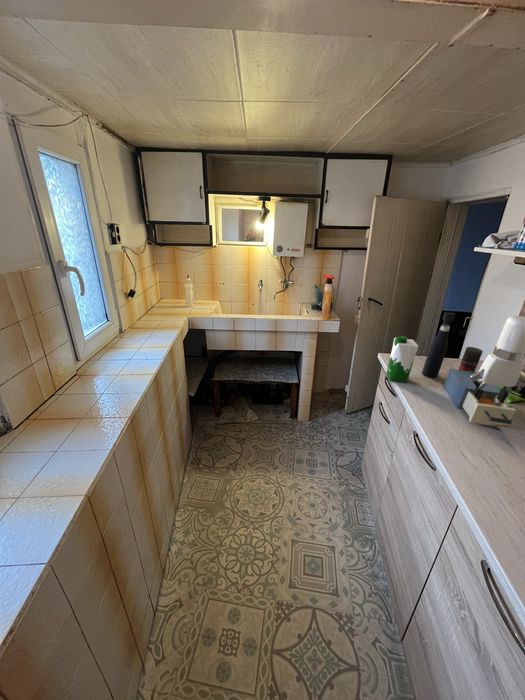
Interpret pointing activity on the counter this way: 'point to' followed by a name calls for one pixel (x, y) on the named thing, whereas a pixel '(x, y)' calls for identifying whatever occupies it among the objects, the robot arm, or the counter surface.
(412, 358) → the milk carton
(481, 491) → the counter surface
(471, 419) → the white drawer
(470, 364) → the deodorant
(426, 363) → the black water bottle
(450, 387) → the blue drawer cabinet
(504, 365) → the robot arm
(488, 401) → the small orange cuboid
